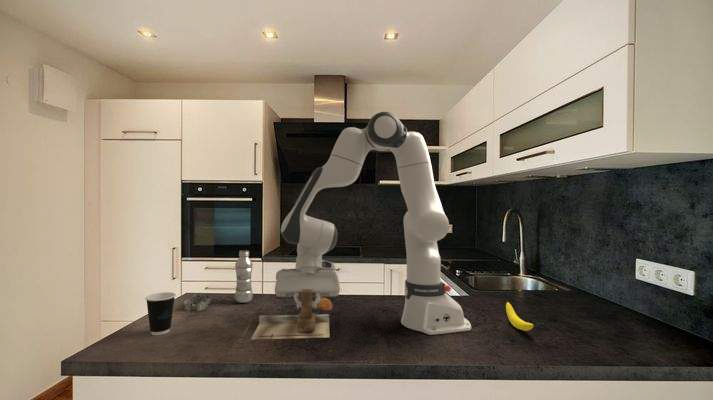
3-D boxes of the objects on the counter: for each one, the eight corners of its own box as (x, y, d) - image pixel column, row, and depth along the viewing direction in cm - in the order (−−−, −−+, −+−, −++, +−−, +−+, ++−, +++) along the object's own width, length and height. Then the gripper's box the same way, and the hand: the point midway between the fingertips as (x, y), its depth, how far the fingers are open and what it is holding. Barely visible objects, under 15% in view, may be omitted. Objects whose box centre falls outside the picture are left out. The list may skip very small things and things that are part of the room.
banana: (527, 341, 99) (528, 319, 99) (502, 318, 118) (502, 300, 118) (537, 341, 98) (538, 320, 98) (510, 318, 117) (511, 300, 117)
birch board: (329, 325, 109) (329, 314, 109) (329, 342, 96) (329, 330, 96) (259, 326, 107) (259, 315, 107) (250, 344, 94) (251, 332, 94)
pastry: (336, 313, 120) (336, 303, 120) (318, 316, 117) (318, 305, 117) (328, 305, 129) (328, 295, 129) (311, 307, 126) (311, 297, 126)
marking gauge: (315, 322, 105) (315, 287, 105) (314, 332, 98) (314, 294, 98) (299, 322, 105) (299, 287, 105) (297, 332, 97) (297, 294, 97)
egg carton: (202, 311, 120) (202, 300, 120) (181, 311, 120) (181, 300, 120) (213, 302, 131) (214, 291, 131) (194, 302, 131) (194, 291, 131)
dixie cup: (155, 326, 105) (155, 291, 105) (180, 327, 105) (180, 292, 105) (138, 337, 97) (139, 299, 97) (165, 337, 97) (166, 300, 97)
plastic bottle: (247, 305, 127) (247, 252, 127) (231, 303, 128) (231, 252, 128) (255, 300, 133) (256, 250, 133) (240, 298, 135) (240, 249, 135)
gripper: (275, 263, 107) (270, 303, 98) (339, 263, 109) (340, 302, 100) (277, 274, 112) (272, 313, 102) (338, 274, 114) (339, 312, 104)
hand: (306, 308), depth 101 cm, fingers closed on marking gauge, 3 cm apart
